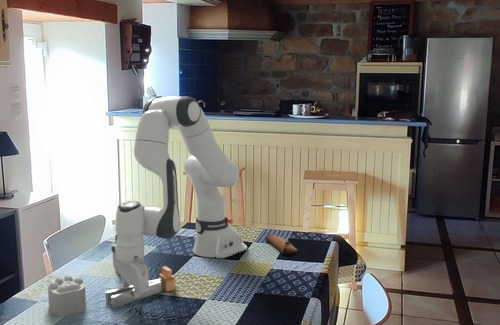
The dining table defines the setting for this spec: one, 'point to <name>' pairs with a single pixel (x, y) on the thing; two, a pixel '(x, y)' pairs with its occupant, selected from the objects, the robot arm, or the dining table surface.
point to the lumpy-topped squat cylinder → (66, 295)
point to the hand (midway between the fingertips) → (131, 292)
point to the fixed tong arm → (124, 289)
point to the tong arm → (128, 296)
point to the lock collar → (168, 278)
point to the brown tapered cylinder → (280, 243)
